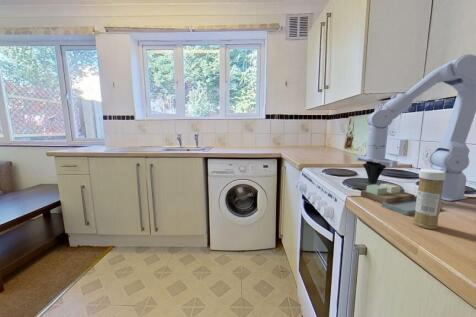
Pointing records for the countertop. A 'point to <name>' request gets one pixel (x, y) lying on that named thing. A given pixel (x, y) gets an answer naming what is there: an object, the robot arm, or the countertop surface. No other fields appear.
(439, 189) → the sprinkles bottle
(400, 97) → the robot arm
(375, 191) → the green tile
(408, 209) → the tray
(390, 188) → the cream tile
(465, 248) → the countertop surface
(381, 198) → the walnut board
